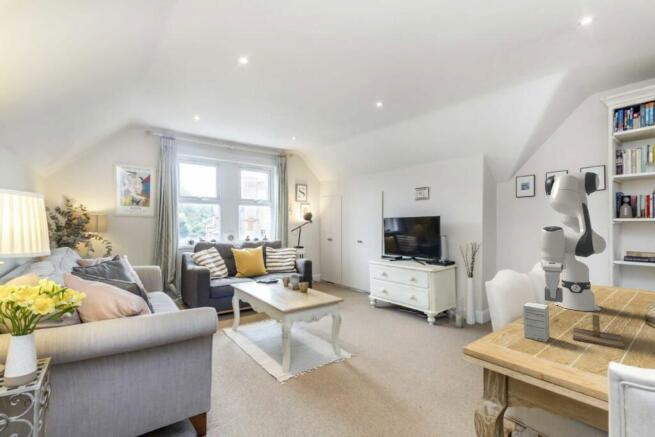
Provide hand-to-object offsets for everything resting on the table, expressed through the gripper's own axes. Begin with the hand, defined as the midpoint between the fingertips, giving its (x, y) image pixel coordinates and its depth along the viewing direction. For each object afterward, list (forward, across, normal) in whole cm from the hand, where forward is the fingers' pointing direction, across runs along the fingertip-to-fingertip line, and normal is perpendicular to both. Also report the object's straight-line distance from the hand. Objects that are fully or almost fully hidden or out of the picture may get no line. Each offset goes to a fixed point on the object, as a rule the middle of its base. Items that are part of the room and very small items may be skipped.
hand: (553, 295), depth 131 cm
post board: (+13, +8, +14) cm, 20 cm away
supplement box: (+13, +20, -4) cm, 24 cm away
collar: (+2, 0, 0) cm, 2 cm away
